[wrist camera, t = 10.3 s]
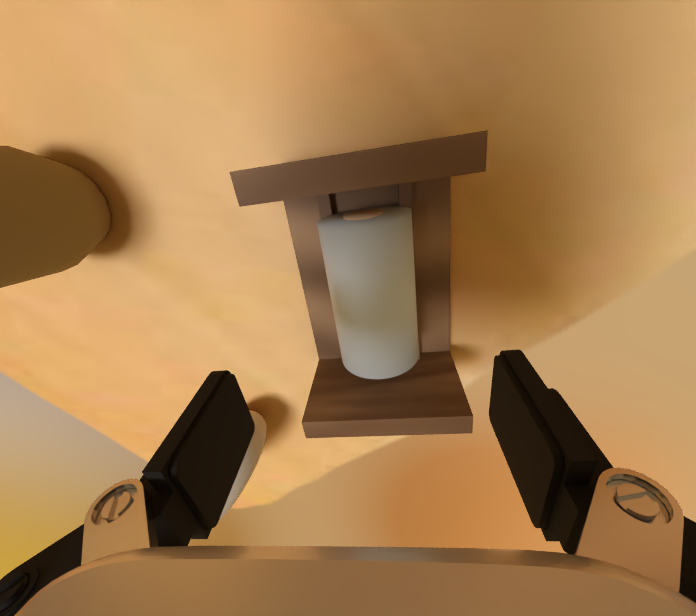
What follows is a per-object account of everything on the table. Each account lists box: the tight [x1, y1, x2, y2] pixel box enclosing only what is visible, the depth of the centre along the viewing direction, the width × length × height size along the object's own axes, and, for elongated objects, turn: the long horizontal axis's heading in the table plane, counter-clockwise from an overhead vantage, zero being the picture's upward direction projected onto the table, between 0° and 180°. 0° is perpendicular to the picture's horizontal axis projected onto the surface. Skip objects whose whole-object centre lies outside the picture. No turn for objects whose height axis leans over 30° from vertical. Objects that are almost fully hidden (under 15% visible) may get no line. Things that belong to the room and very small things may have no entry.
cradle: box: [230, 131, 487, 438], centre depth 20 cm, size 17×11×8 cm, turn 8°
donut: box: [219, 410, 267, 520], centre depth 28 cm, size 10×4×10 cm, turn 143°
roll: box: [317, 206, 419, 379], centre depth 20 cm, size 10×6×6 cm, turn 8°
